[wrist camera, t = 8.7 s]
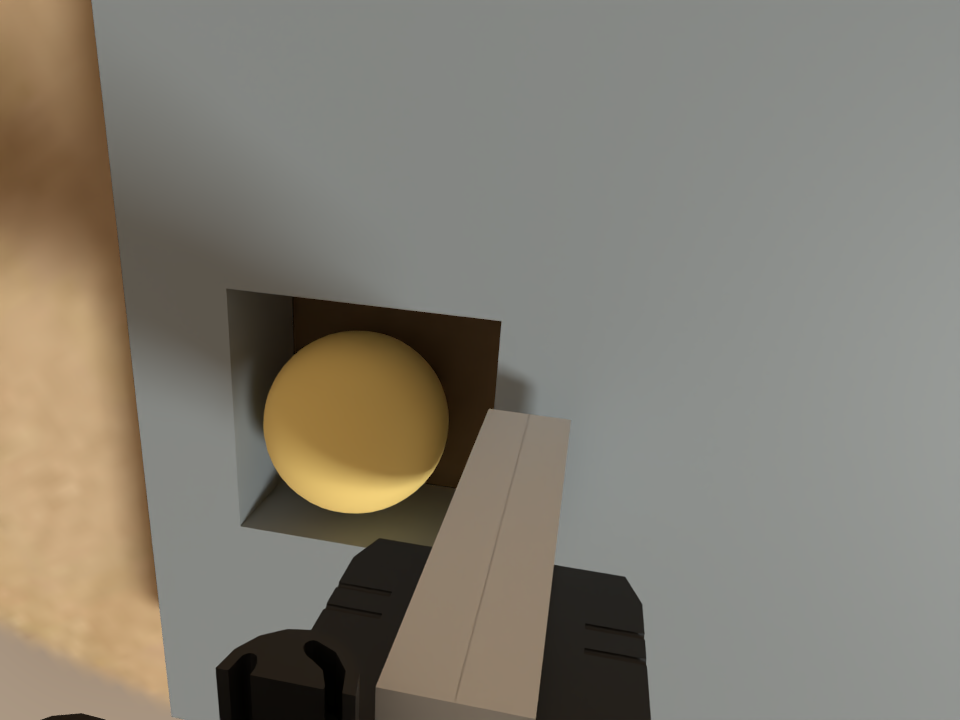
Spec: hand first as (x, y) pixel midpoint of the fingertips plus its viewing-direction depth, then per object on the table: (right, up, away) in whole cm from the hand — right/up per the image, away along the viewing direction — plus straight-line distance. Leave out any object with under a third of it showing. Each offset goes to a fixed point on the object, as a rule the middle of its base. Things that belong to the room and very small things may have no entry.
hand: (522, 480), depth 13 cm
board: (+3, +1, +3) cm, 5 cm away
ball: (-1, +1, +2) cm, 3 cm away
